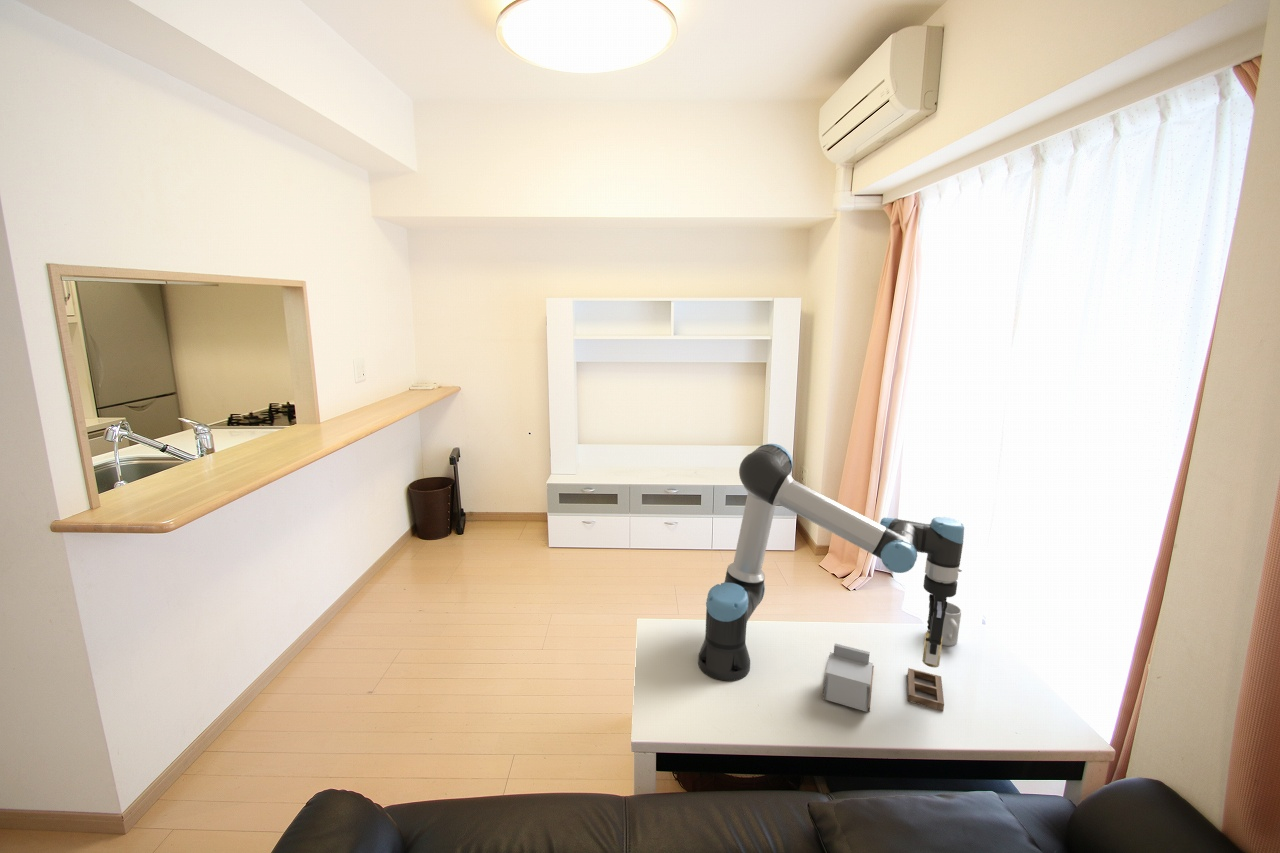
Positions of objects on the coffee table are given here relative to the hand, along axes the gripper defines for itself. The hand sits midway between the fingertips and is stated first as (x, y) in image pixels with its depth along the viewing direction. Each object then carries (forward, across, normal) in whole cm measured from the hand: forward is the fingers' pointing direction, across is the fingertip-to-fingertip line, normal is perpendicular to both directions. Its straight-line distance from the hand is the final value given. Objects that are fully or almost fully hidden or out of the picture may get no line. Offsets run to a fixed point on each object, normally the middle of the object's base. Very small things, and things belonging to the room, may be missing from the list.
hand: (930, 658), depth 147 cm
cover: (+11, -10, +19) cm, 24 cm away
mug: (+12, +34, -7) cm, 36 cm away
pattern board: (+12, -2, +19) cm, 23 cm away
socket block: (+12, +3, 0) cm, 13 cm away
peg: (+1, 0, 0) cm, 1 cm away
